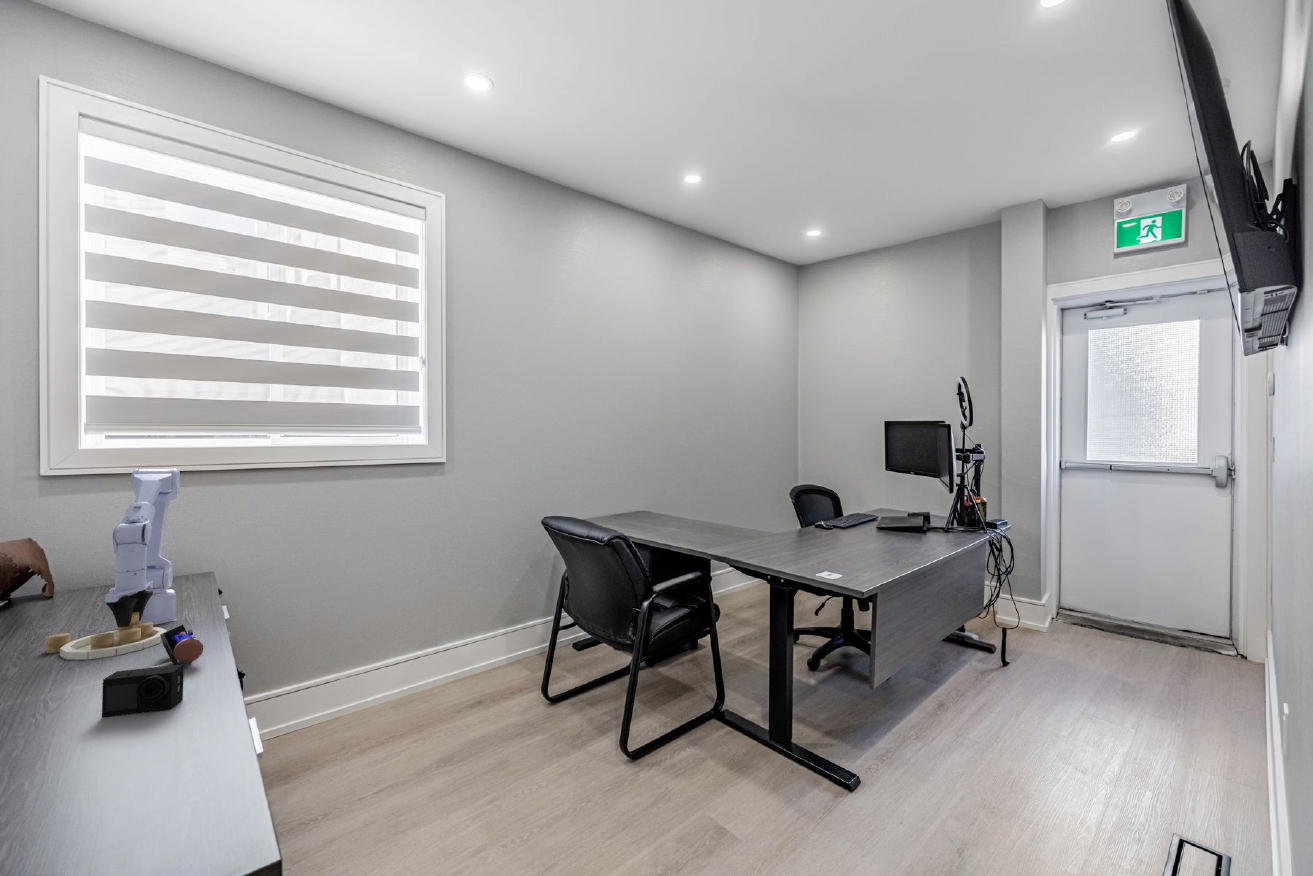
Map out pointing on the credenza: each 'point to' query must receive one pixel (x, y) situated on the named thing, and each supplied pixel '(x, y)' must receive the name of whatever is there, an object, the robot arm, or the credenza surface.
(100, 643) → the seated bead
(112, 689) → the digital camera
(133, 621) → the bead
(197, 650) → the character figurine
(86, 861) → the credenza surface
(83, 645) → the tray
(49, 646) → the bead
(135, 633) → the seated bead
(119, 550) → the robot arm
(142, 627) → the seated bead
